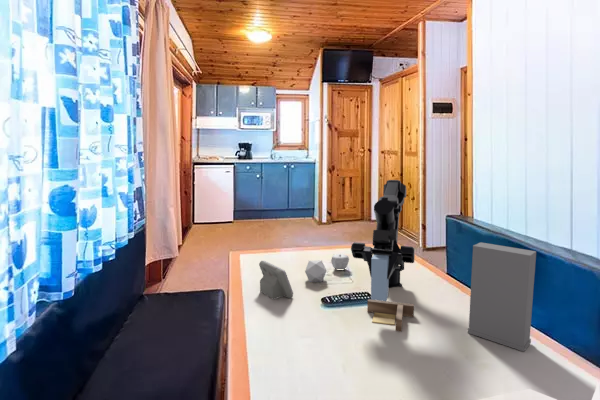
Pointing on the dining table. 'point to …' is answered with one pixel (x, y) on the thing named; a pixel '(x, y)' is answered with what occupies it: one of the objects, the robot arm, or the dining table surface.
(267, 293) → the digital clock
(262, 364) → the dining table surface
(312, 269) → the die
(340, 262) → the apple
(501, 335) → the grey upright tombstone
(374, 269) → the large blue square block
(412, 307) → the wooden t-shaped piece
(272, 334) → the dining table surface
